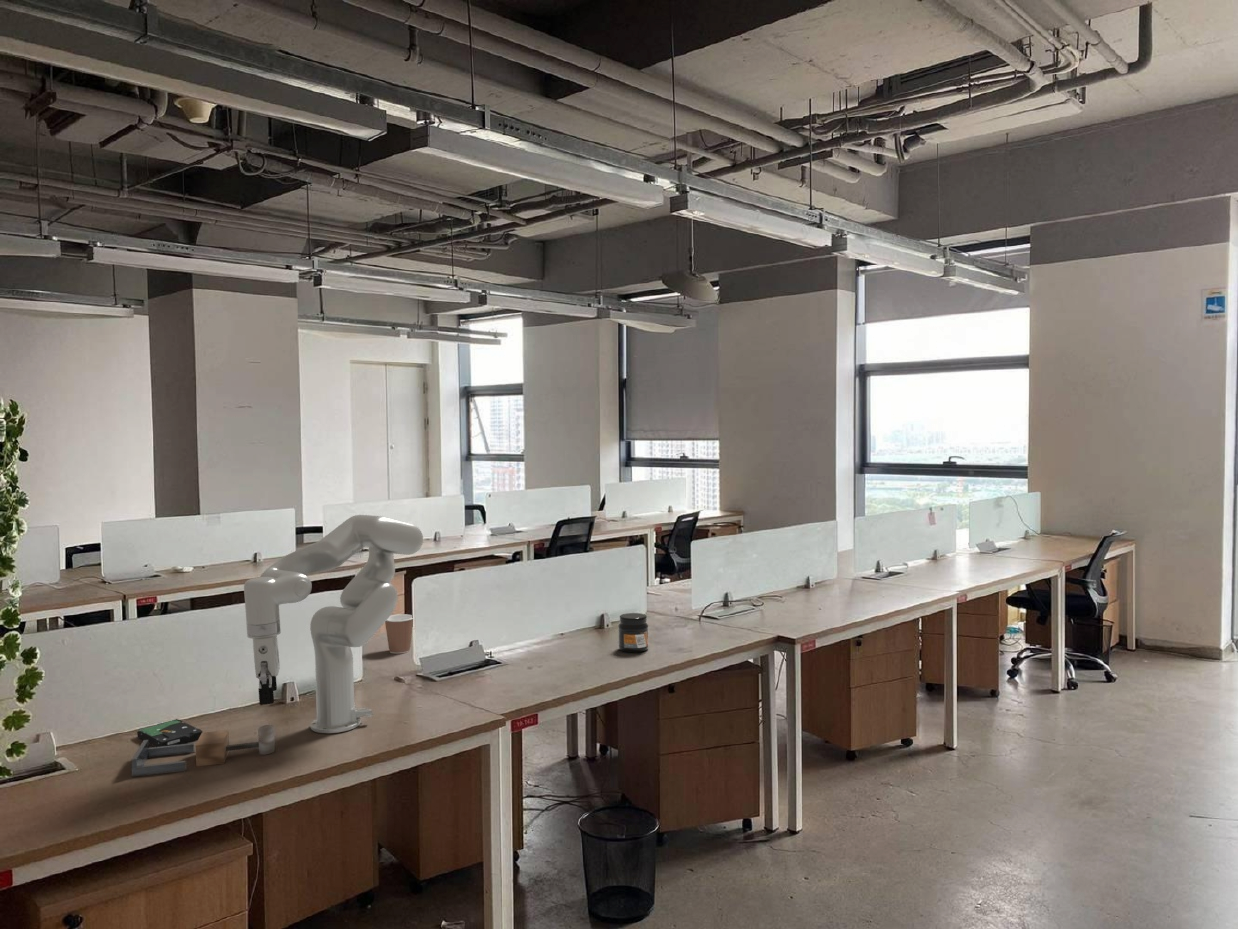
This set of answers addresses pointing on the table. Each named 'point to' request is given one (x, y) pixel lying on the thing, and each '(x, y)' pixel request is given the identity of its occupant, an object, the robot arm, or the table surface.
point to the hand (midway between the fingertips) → (268, 697)
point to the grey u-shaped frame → (146, 752)
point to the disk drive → (169, 733)
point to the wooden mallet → (217, 745)
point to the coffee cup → (399, 633)
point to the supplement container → (633, 633)
